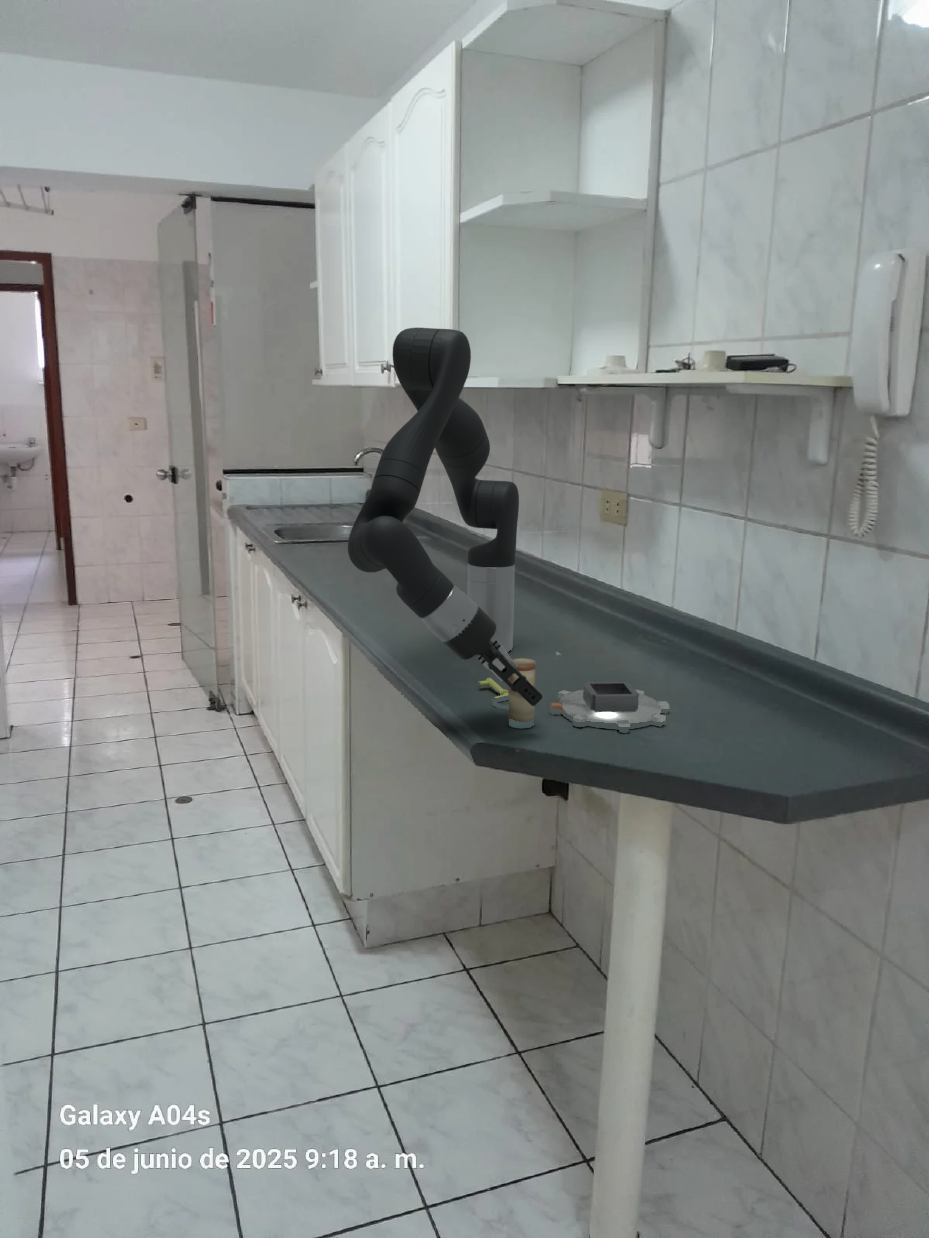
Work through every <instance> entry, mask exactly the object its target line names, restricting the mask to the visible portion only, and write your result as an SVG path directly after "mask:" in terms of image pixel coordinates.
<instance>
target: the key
mask: <svg viewBox="0 0 929 1238" xmlns="http://www.w3.org/2000/svg"><path fill="white" fill-rule="evenodd" d="M477 682H478V683H477V684H478V685H479V686H480V687H483V686H488V687H490V688H491V687H492V688H494V689H495V690H497V691H499V692H500V694H503V695H500V696H499V695H496V696H495V697H493V698H500V697H504V696H508V695H509V689H508V690H507V689H504V688H502V687H501V686H500V685H499V684H498V683H497V682H496V681H494V679H492V678H491V677H488V678H486V679H485V680H478V681H477ZM492 688H491V689H492Z"/></svg>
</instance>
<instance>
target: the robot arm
mask: <svg viewBox="0 0 929 1238" xmlns="http://www.w3.org/2000/svg"><path fill="white" fill-rule="evenodd" d="M470 345H471V344H470V342H469V339H468V337H467V335H466V334H465V333H464V332H463V331H460V330H457V329H453V328H452V329H451V328H434V327H432V328H431V327H430V328H429V327H410V328H405V329H403V330H401V331H400V332H399V333H398V334H397V335H396V336H395V339H394V341H393V344H392V363H393V368H394V371H395V375H396V377H397V379H398V382H399V384H400V386H401V387H402V389H403V390H404V392H405V394H406V395H407V397H408V398H409V400H410V402H411V403H412V405H413V406H414V408H415V409H416V411H417V412H416V413H415V414H414V415H413V416H412V417H411V418H410V419H409V420H408V421H407V422H406V423H405V424H404V425H403V426H402V427H401V428H399V429H398V430H397V431H396V433H395V434H394V435H393V436H392V437H391V438H390V439H389V440H388V442H387V443H386V445H385V447H384V449H383V450H382V452H381V456H380V458H379V460H378V464H377V467H376V470H375V472H374V473H375V474H374V477H373V479H372V483H371V488H370V491H369V493H368V495H367V497H366V499H365V501H364V503H363V504H362V506H361V509H360V511H359V513H358V515H357V517H356V518H355V521H354V523H353V525H352V528H351V531H350V533H349V536H348V540H347V553H348V558H349V560H350V561H351V563H352V565H353V566H354V567H356V569H358V570H360V571H362V572H363V573H377V572H381V571H383V570H387V571H388V572H389V573H390V575H391V576H392V577H393V578H394V579H395V581H396V582H397V585H396V586H395V587H396V588H395V590H396V594H397V596H398V597H399V599H400V600H401V601H402V602H403V603H404V604H405V605H406V606H407V607H408V608H409V609H410V610H411V611H412V612H413V613H414V614H415V615H416V616H417V617H418V618H420V619H421V621H422V622H423V624H424V625H426V627H427V628H428V630H430V632H432V633H433V634H434V635H435V636H436V637H437V638H438V639H439V640H440V641H441V642H442V644H444V645H445V646H446V647H447V648H448V649H449V650H451V651H452V653H454V655H455V656H457V657H458V658H459V659H460V660H462V661H464V660H465V661H466V660H469V659H471V658H473V657H474V656H476V655H479V656H478V657H477V659H478V660H479V662H480V663H481V665H482V666H483V667H484V668H485V669H487V670H489V671H490V672H491V673H492V674H493V675H494V676H495V677H496V678H497V679H498V680H499V681H501V682H503V683H505V684H506V685H507V686H508V688H509V687H510V688H511V690H512V691H514V692H518V693H519V694H520V695H521V696H522V697H523V698H524V699H525V700H526V701H527V702H528V703H529V704H530V705H532V706H536V705H538V703H539V702H540V701H541V700H542V699H543V694H542V693H541V692H540V691H539V690H538V689H537V688H536V686H535V687H533V686H532V685H531V684H530V683H529V682H528V681H527V679H526V677H525V676H523V675H522V674H521V673H520V672H519V671H518V665H517V664H516V663H515V662H514V661H513V660H512V659H513V658H511V655H510V652H511V651H513V649H512V648H514V647H513V646H514V645H513V644H514V643H513V642H514V640H513V639H514V617H515V616H514V615H515V614H514V613H515V606H514V605H515V579H516V578H515V575H516V574H515V571H516V570H515V568H516V551H517V533H518V532H517V531H518V521H519V520H518V519H519V510H520V508H519V507H520V495H519V490H518V486H517V484H515V483H514V482H513V481H507V480H490V479H489V480H488V479H487V480H485V479H479V478H476V477H477V476H478V474H479V473H480V472H481V470H482V469H483V468H484V467H485V465H486V463H487V461H488V458H489V455H490V450H491V445H490V439H489V436H488V434H487V431H486V429H485V425H484V423H483V420H482V418H481V417H480V415H479V414H478V413H477V411H476V410H475V409H473V407H472V406H471V405H469V404H468V403H467V402H465V401H464V400H463V399H462V398H460V396H461V393H462V391H463V389H464V387H465V385H466V382H467V378H468V376H469V373H470V367H471V359H472V355H471V354H472V352H471V346H470ZM434 450H435V452H436V454H437V455H438V458H439V460H440V461H441V464H442V466H443V468H444V469H445V472H446V475H447V477H448V479H449V481H450V484H451V486H452V489H453V493H454V497H455V500H456V504H457V506H458V507H457V508H458V509H459V513H460V515H461V518H462V520H463V521H464V523H465V524H466V526H470V527H472V528H475V529H485V530H486V529H487V530H489V529H491V530H496V536H495V537H494V538H493V539H491V540H490V541H488V542H484V543H482V544H478V545H474V546H472V547H471V548H469V550H468V551H467V588H466V589H467V592H466V593H465V592H464V591H463V590H462V589H461V588H459V587H458V586H456V585H455V584H454V583H453V582H452V581H451V580H450V579H449V578H448V577H447V576H446V575H445V574H444V573H443V572H442V571H441V570H440V569H439V568H437V567H436V566H435V564H434V563H433V562H432V560H431V557H430V556H429V555H428V553H427V551H426V550H425V548H424V546H423V545H422V543H421V542H420V540H419V539H418V538H417V536H416V535H415V533H414V532H413V531H412V530H411V529H410V527H409V526H407V525H406V524H405V523H404V520H405V518H406V517H407V516H408V515H409V514H410V513H411V512H412V511H414V508H415V507H416V504H417V502H418V499H419V496H420V493H421V490H422V487H423V484H424V480H425V476H426V473H427V471H428V470H427V469H428V467H429V464H430V461H431V458H432V455H433V453H434ZM510 650H511V651H510ZM509 651H510V652H509ZM509 662H510V663H511V664H510V663H509ZM514 673H515V674H516V675H517V676H518V678H517V679H516V680H515V681H514V682H513V683H512V682H511V681H510V680H509V677H510V676H511V675H512V674H514Z"/></svg>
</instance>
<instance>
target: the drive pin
mask: <svg viewBox="0 0 929 1238" xmlns="http://www.w3.org/2000/svg"><path fill="white" fill-rule="evenodd" d="M511 659H512V660H513V661H514V662H515V663H516V664H517V665H518V671H519V672H520V673H521V674H522V675H523V676H525V677H526V679H527V681H528V682H529V683H530V684H531V685H532V686H533V687H535V688H536V668H537V667H536V661H535V660H534V659H530V658H523V657H521V658H514V659H513V658H511ZM509 663H510V662H509ZM510 664H511V663H510ZM517 678H518V676H517V675H516V674H515V673H514V674H512V675H511V676H510V677H509V680H510V681H511V682H512V683H513V682H514V681H515V680H516V679H517ZM508 691H509V701H508V705H509V707H508V709H507V710H508V715H507V717H509V719H513V720H515V721H519V722H528V721H532V720H533V719H534V720H535V711H536V710H535V709H536V708H535V706H536V705H535V706H532V705H530V704H529V703H528V702H527V701H526V700H525V699H524V698H523V697H522V696H521V695H520V694H519V693H518V692H514V691H512V690H511V688H510V687H509V686H508Z"/></svg>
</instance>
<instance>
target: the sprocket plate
mask: <svg viewBox="0 0 929 1238" xmlns="http://www.w3.org/2000/svg"><path fill="white" fill-rule="evenodd" d="M558 697H559V698H561V699H560V701H559V702H550V707H551V708H552V709H561V710H562V711H564V712H565V713H567V714H568V715H571V716H573V721H575V722H585V721H591V722H604V723H616V724H618V726H619V727H630V724H631V723H639V722H647V721H651V720H652V721H655V722H663V721H665V722H666V720H667V719H666V718H667V716H666V715H665V714H660V713H661V709H669V710H670V704H669V702H667V701H658V700H656V699H654V698H652V697H650V696H648V695H646V694H645V691H644V690H640V689H635V687H634V686H633V685H632V684H631V683H628V682H626V681H585V683H583V689H578V690H575V691H568V690H564V689H562V690H561V691H559V692H558V693H557V698H558ZM550 707H549V708H550Z"/></svg>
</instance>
